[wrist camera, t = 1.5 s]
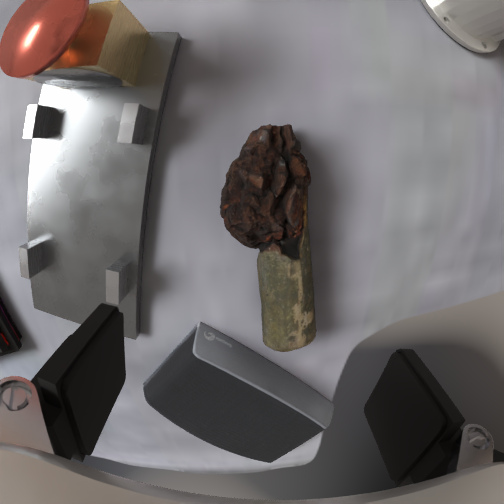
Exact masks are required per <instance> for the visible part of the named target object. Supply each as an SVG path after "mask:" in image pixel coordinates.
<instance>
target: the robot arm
mask: <svg viewBox="0 0 504 504" xmlns="http://www.w3.org/2000/svg"><path fill="white" fill-rule="evenodd" d="M421 1H422V3H423V5H424V7H425V8H426V9H427V11H428V12H429V14H430V15H431V16H432V18H433V19H434V20H435V21H436V23H437V24H438V25H439V26H440V27H441V28H442V29H443V30H444V31H445V32H446V33H447V34H448V35H449V36H451V37H452V38H453V39H454V40H455V41H457V42H458V43H459V44H461V45H462V46H464V47H466V48H467V49H469V50H471V51H474V52H477V53H483V54H484V53H489V52H492V51H494V50H496V49H497V48H498V47H499V45H500V42H501V40H503V39H504V0H421ZM125 378H126V370H125V351H124V315H123V313H122V312H119V308H118V307H116V306H112V305H108V304H105V303H101V304H100V305H99V306H98V307H97V308H96V309H95V310H94V311H93V312H92V313H91V314H90V316H89V317H88V318H87V319H86V320H85V321H84V322H83V323H82V324H81V326H80V327H79V328H78V329H77V330H76V331H75V332H74V333H73V334H72V335H70V336H69V337H68V338H67V339H66V340H65V341H64V342H63V343H62V344H61V346H60V347H59V348H58V349H57V350H56V351H55V352H54V354H53V355H52V356H51V357H50V358H49V360H48V361H47V362H46V363H45V364H44V366H43V367H42V368H41V369H40V370H39V372H38V373H37V374H36V375H35V376H34V378H33V379H32V380H31V381H29V380H27V379H25V378H22V377H19V376H10V377H6V378H3V379H1V380H0V504H504V453H501V452H499V451H497V450H494V449H493V439H492V437H491V435H490V433H489V432H488V431H487V430H486V429H484V428H483V427H481V426H479V425H475V424H470V425H467V426H466V427H465V428H464V429H463V430H461V429H460V427H461V425H462V424H463V423H464V422H465V419H464V417H463V416H462V415H461V413H460V412H459V410H458V409H457V407H456V406H455V405H454V403H453V402H452V401H451V399H450V398H449V396H448V395H447V394H446V392H445V391H444V390H443V388H442V387H441V386H440V384H439V383H438V381H437V380H436V379H435V377H434V376H433V375H432V373H431V372H430V371H429V369H428V368H427V367H426V366H425V364H424V363H423V362H422V360H421V359H420V358H419V357H418V355H417V354H416V353H415V351H414V350H412V349H398V350H397V351H396V352H395V353H393V354H392V355H391V357H390V359H389V361H388V363H387V366H386V367H385V369H384V372H383V373H382V375H381V377H380V379H379V381H378V383H377V385H376V386H375V388H374V390H373V392H372V394H371V396H370V397H369V399H368V401H367V403H366V404H365V407H364V413H365V416H366V418H367V421H368V423H369V426H370V428H371V430H372V432H373V435H374V438H375V440H376V442H377V445H378V447H379V450H380V453H381V455H382V458H383V460H384V463H385V465H386V468H387V470H388V473H389V475H390V478H391V479H392V480H394V482H395V484H396V487H399V488H394V489H390V490H384V491H379V492H373V493H367V494H361V495H353V496H345V497H336V498H325V499H309V500H253V499H238V498H226V497H217V496H209V495H202V494H195V493H188V492H183V491H178V490H172V489H168V488H163V487H158V486H154V485H149V484H146V483H142V482H138V481H133V480H130V479H126V478H123V477H119V476H116V475H113V474H109V473H106V472H103V471H100V470H97V469H94V468H92V467H89V466H86V465H83V464H79V463H77V462H74V461H71V458H74V459H76V460H79V461H81V462H83V460H84V458H85V455H91V454H92V452H93V450H94V448H95V445H96V443H97V441H98V438H99V436H100V434H101V432H102V430H103V427H104V425H105V423H106V421H107V419H108V416H109V414H110V412H111V410H112V408H113V406H114V404H115V402H116V399H117V397H118V395H119V393H120V391H121V389H122V387H123V385H124V382H125ZM412 481H413V483H414V484H412V485H408V484H410V483H411V482H412ZM405 485H408V486H405ZM400 486H403V487H400Z"/></svg>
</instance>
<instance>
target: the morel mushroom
mask: <svg viewBox="0 0 504 504" xmlns="http://www.w3.org/2000/svg"><path fill="white" fill-rule="evenodd" d="M300 150H301V145H300V142H299V141H298V140H297V139H296V137H295V135H294V133H293V130H292V125H290V124H288V125H284V126H272V125H270V124H269V125H267V126H261V127H260V128H259V129H257V130H255V131H252V132H251V134H250V135H249V137H248V140H247V141H246V143H245V144H244V145H243V147H242V149H241V152H240V156H239V158H237V159H236V160H234V161H233V162H232V164H231V166H230V168H229V171H228V173H227V174H226V183H225V185H224V187H223V189H222V193H221V195H222V196H221V205H220V208H221V210H220V214H221V217H222V218H223V219H224V224H225V227H226V229H227V230H228V231H229V232H230V234H231V235H232V236H233V237H234V238H235V239H237V240H238V241H239V242H240V243H242V244H243V245H245V246H247V247H249V248H254V249H257V248H259V249H260V252H259V255H258V259H257V268H258V280H259V289H260V297H261V304H262V331H263V342H264V344H265V345H266V346H268V347H269V348H271V349H273V350H275V351H280V352H288V351H292V350H295V349H299V348H302V347H304V346H306V345H308V344H310V343H311V342H312V341H313V340H314V338H315V334H316V326H315V310H314V293H313V280H312V267H311V255H310V240H309V229H308V214H307V205H308V186H309V184H310V183H311V176H310V172H309V168H308V167H307V160H305V158H304V156H303V155H302V154H301V153H300V152H299V151H300Z"/></svg>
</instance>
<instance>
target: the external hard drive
mask: <svg viewBox="0 0 504 504" xmlns="http://www.w3.org/2000/svg"><path fill="white" fill-rule="evenodd" d="M143 385H144V387H143V389H144V395H145V399H146V401H147V403H148V404H149V405H150V406H152V407H153V408H154V409H155V410H156V411H158V412H159V413H160V414H161V415H163V416H164V417H166V418H167V419H169V420H170V421H171V422H173V423H174V424H176V425H177V426H179V427H181V428H182V429H184V430H185V431H187V432H189V433H191V434H192V435H194V436H196V437H198V438H200V439H202V440H204V441H206V442H208V443H210V444H212V445H214V446H216V447H219V448H221V449H224V450H226V451H229V452H232V453H235V454H237V455H240V456H244V457H247V458H251V459H254V460H259V461H263V462H268V463H271V462H273V461H275V460H276V459H278V458H280V457H281V456H283V455H285V454H287V453H288V452H290V451H291V450H293V449H295V448H296V447H298V446H299V445H301V444H303V443H304V442H306V441H307V440H309V439H311V438H312V437H314V436H315V435H317V434H318V433H320V432H321V431H323V430H324V429H326V428H327V427H329V425H330V422H331V420H332V416H333V412H334V405H333V404H332V403H331V402H329V401H328V400H327V399H326V398H324V397H323V396H322V395H320V394H319V393H318V392H316V391H315V390H313V389H312V388H311V387H309V386H308V385H306V384H305V383H303V382H302V381H300V380H299V379H297V378H296V377H294V376H293V375H291V374H289V373H288V372H286V371H285V370H283V369H282V368H280V367H278V366H277V365H275V364H274V363H272V362H270V361H269V360H267V359H265V358H264V357H262V356H260V355H259V354H257V353H255V352H254V351H252V350H250V349H248V348H247V347H245V346H243V345H241V344H240V343H238V342H236V341H234V340H233V339H231V338H229V337H228V336H226V335H224V334H222V333H220V332H219V331H217V330H215V329H213V328H211V327H209V326H207V325H205V324H203V323H201V322H199V323H198V324H197V325H196V326H195V327H194V328H193V330H192V331H191V332H190V333H189V334H188V335H187V336H186V338H185V339H184V340H183V341H182V342H181V343H180V344H179V345H178V346H177V347H176V349H175V350H174V351H173V352H172V353H171V354H170V355H169V356H168V357H167V358H166V360H165V361H164V362H163V363H162V364H161V365H160V366H159V367H158V369H157V370H156V371H155V372H154V373H153V374H152V375H151V376H150V377H149V378H148V379H147V381H146V382H145V383H144V384H143Z"/></svg>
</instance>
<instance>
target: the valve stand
mask: <svg viewBox="0 0 504 504" xmlns="http://www.w3.org/2000/svg"><path fill="white" fill-rule="evenodd" d="M180 41H181V36H180V34H179V33H177V32H148V31H147V30H146V29H145V28H144V27H143V26H142V25H141V23H140V22H139V21H138V20H137V19H136V18H135V17H134V15H133V14H132V13H131V12H130V11H129V10H128V9H127V8H126V6H125V5H124V4H123V3H122V2H121V1H120V0H114V1H107V2H100V3H94V4H89V0H26V1H25V2H24V3H23V4H22V5H21V6H20V7H19V8H18V10H17V11H16V12H15V14H14V15H13V16H12V18H11V20H10V21H9V23H8V25H7V27H6V29H5V31H4V34H3V36H2V39H1V43H0V67H1V69H2V70H3V72H4V73H5V74H7V75H9V76H11V77H16V78H21V79H28V80H32V81H36V82H38V83H41V84H43V87H42V91H41V96H40V100H39V105H38V104H36V105H28V110H27V115H26V121H25V127H24V134H23V138H33V141H32V149H31V158H30V168H29V182H28V207H27V229H28V243H26V244H24V245H22V246H20V247H19V258H20V269H21V277H24V278H27V279H31V288H32V296H33V303H34V308H36V309H38V310H41V311H44V312H47V313H50V314H52V315H55V316H58V317H61V318H64V319H67V320H70V321H73V322H76V323H79V324H82V323H83V322H84V321H85V320H86V319H87V318H88V317H89V316H90V314H91V313H92V312H93V311H94V310H95V309H96V308H97V307H98V306H99V305H100V304H101V303H105V304H108V305H112V306H116V307H118V308H119V312H122V313H123V315H124V337H128V338H132V339H135V340H136V339H137V337H138V335H139V333H140V292H141V273H142V257H143V245H144V234H145V223H146V214H147V205H148V197H149V190H150V182H151V175H152V169H153V162H154V156H155V150H156V145H157V139H158V134H159V128H160V123H161V118H162V113H163V109H164V104H165V99H166V95H167V91H168V86H169V82H170V78H171V74H172V70H173V66H174V62H175V59H176V55H177V51H178V48H179V44H180Z"/></svg>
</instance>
